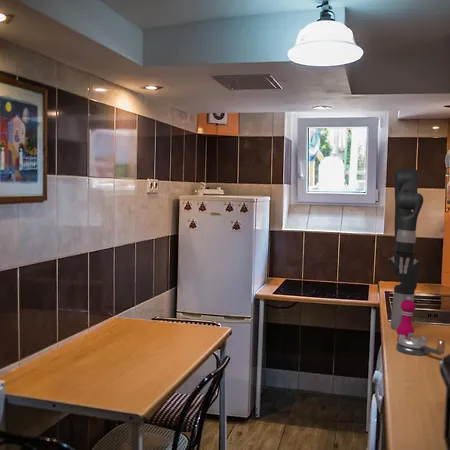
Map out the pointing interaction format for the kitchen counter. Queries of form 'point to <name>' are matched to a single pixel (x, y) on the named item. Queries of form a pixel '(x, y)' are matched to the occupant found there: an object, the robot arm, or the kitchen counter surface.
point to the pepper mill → (406, 317)
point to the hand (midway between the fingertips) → (401, 282)
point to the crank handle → (419, 343)
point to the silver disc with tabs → (410, 351)
